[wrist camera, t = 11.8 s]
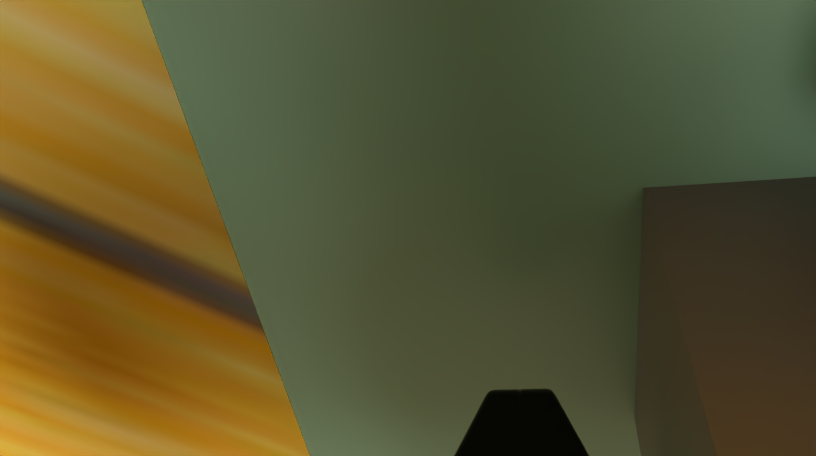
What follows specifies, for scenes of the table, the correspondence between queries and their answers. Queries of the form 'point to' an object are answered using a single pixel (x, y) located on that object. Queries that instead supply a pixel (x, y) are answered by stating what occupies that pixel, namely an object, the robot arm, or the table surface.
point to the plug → (727, 320)
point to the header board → (471, 187)
